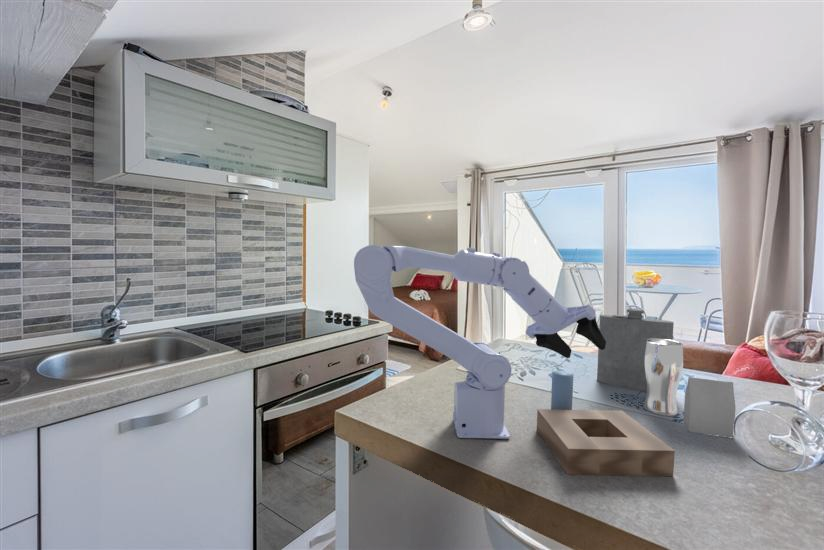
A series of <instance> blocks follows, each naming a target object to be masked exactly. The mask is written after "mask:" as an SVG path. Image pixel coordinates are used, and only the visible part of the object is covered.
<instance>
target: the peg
mask: <svg viewBox="0 0 824 550" xmlns="http://www.w3.org/2000/svg"><path fill="white" fill-rule="evenodd" d="M551 376H552V377H551V397H550V398H551V400H550V410H573V396H574V395H573V393H574V374H573V373H572V372H570V371H565V370H554V371H553V370H552V371H551Z"/></svg>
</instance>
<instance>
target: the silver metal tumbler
mask: <svg viewBox="0 0 824 550" xmlns="http://www.w3.org/2000/svg"><path fill="white" fill-rule="evenodd" d="M683 368H684V344H683V343H682V342H679V341H676V340H674V339H673V340H667V339H658V338H650V339H646V345H645V351H644V372H645V379H646V386H647V392H645V393H646V395H645V400H644V402H643V408H644V409H645V411H648V412H650V413H653V414H656V415H659V416H664V417H675V416H677V415H678V406H677V393H678V389H679V385H680V382H681V379H682V374H683V370H684V369H683Z"/></svg>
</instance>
